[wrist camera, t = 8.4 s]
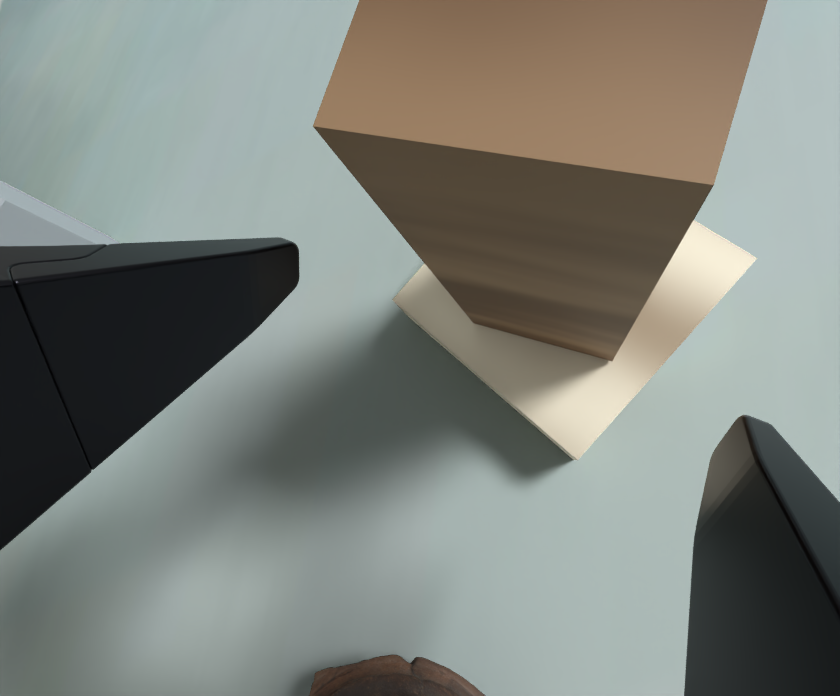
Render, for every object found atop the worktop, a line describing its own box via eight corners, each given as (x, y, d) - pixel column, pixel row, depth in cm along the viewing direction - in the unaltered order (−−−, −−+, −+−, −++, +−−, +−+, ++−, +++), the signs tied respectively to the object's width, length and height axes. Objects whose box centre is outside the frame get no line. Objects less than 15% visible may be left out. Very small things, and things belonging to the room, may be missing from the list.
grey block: (111, 357, 25) (-77, 313, 17) (58, 311, 27) (-136, 252, 19) (167, 278, 25) (5, 200, 18) (111, 237, 27) (-60, 149, 19)
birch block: (572, 460, 19) (577, 460, 16) (412, 320, 22) (392, 299, 19) (725, 288, 19) (757, 258, 16) (543, 172, 22) (543, 129, 19)
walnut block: (612, 361, 16) (713, 184, 5) (473, 323, 18) (313, 125, 7) (645, 251, 17) (810, -148, 5) (506, 224, 18) (405, -125, 7)
